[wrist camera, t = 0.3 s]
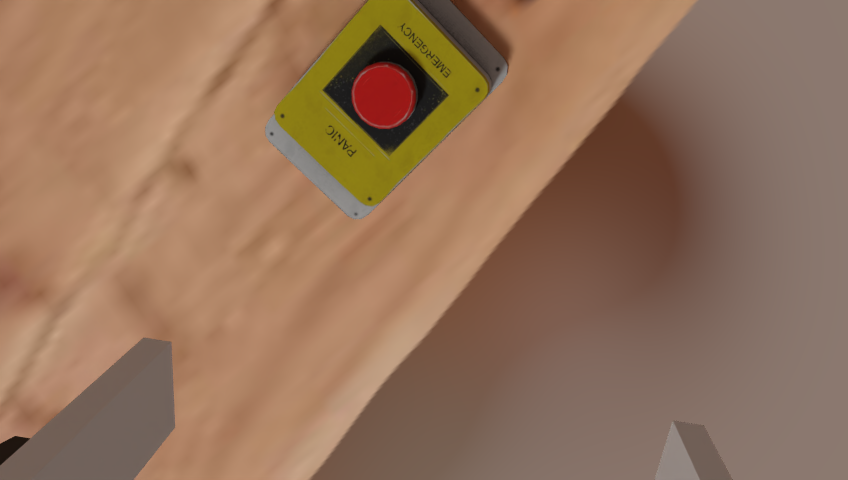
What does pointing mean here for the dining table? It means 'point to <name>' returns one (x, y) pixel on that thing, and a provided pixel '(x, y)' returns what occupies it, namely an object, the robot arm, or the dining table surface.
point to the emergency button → (384, 98)
